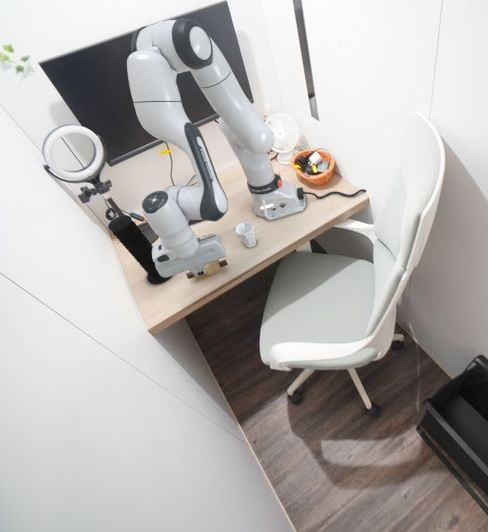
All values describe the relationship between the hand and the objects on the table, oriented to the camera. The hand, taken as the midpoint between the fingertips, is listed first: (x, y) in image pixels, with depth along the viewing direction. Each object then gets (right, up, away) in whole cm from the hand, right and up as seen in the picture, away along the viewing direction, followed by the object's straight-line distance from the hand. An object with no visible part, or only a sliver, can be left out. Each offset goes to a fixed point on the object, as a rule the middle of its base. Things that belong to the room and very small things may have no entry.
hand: (201, 273), depth 104 cm
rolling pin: (-2, -1, +12) cm, 12 cm away
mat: (-16, +25, +36) cm, 47 cm away
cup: (+9, +12, +21) cm, 25 cm away
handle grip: (-21, 0, +14) cm, 25 cm away
